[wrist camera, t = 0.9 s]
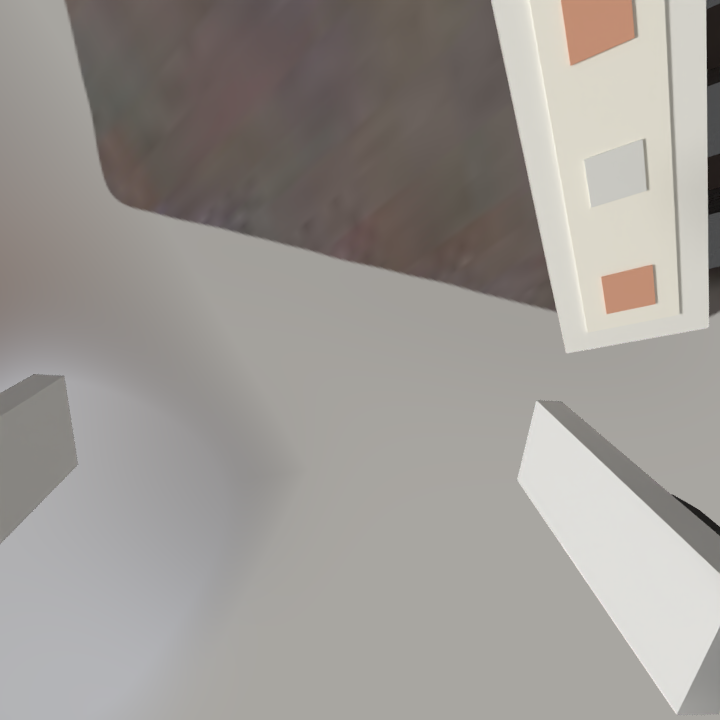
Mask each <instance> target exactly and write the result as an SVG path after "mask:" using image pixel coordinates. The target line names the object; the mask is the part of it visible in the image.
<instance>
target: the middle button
mask: <svg viewBox="0 0 720 720" xmlns="http://www.w3.org/2000/svg"><path fill="white" fill-rule="evenodd" d="M717 154H720V66H719V67H717V68H714V69H712V70H709V71H707V157H710V156H713V155H717Z"/></svg>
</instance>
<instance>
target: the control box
mask: <svg viewBox="0 0 720 720" xmlns="http://www.w3.org/2000/svg"><path fill="white" fill-rule="evenodd" d="M491 3H492V8H493V13H494V17H495V22H496V27H497V32H498V36H499V41H500V46H501V50H502V55H503V60H504V65H505V69H506V74H507V79H508V84H509V88H510V93H511V98H512V103H513V107H514V112H515V117H516V121H517V126H518V131H519V136H520V140H521V145H522V150H523V155H524V159H525V164H526V169H527V174H528V178H529V183H530V188H531V192H532V197H533V202H534V207H535V211H536V216H537V221H538V226H539V230H540V235H541V240H542V245H543V249H544V254H545V259H546V263H547V268H548V273H549V278H550V282H551V287H552V291H553V296H554V300H555V305H556V309H557V314H558V319H559V323H560V328H561V332H562V336H563V341H564V346H565V350H566V353H571V352H577V351H583V350H588V349H594V348H599V347H605V346H611V345H616V344H621V343H627V342H633V341H638V340H644V339H649V338H655V337H661V336H666V335H672V334H678V333H683V332H688V331H694V330H699V329H705V328H709V278H708V163H707V48H706V0H491Z"/></svg>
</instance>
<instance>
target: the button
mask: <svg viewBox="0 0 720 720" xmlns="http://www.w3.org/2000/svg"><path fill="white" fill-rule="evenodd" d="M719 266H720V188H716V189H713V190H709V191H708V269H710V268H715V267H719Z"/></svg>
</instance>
